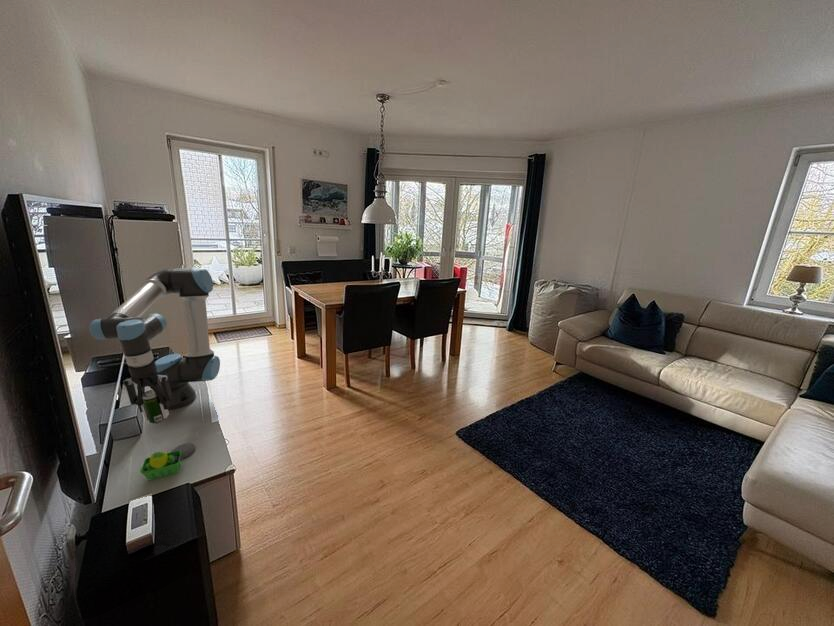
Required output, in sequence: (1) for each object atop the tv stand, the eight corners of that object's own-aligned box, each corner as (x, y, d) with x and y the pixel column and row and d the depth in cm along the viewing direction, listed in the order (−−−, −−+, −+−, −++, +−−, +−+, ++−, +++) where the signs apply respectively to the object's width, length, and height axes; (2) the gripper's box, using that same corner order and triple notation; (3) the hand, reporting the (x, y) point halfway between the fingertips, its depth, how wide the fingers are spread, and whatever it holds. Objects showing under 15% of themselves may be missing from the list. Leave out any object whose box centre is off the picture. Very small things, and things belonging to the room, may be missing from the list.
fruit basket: (184, 459, 134) (177, 436, 130) (180, 476, 126) (173, 452, 122) (149, 468, 130) (140, 444, 126) (142, 486, 122) (133, 461, 118)
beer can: (169, 419, 132) (161, 392, 128) (152, 426, 128) (144, 398, 124) (163, 414, 135) (155, 387, 131) (147, 421, 131) (138, 393, 127)
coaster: (175, 447, 140) (175, 445, 140) (197, 443, 142) (197, 441, 142) (167, 461, 133) (167, 459, 133) (191, 457, 135) (190, 455, 134)
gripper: (104, 370, 118) (124, 426, 126) (165, 365, 122) (180, 420, 130) (117, 360, 125) (134, 414, 133) (174, 355, 129) (188, 408, 137)
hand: (157, 417), depth 131 cm, fingers closed on beer can, 5 cm apart
